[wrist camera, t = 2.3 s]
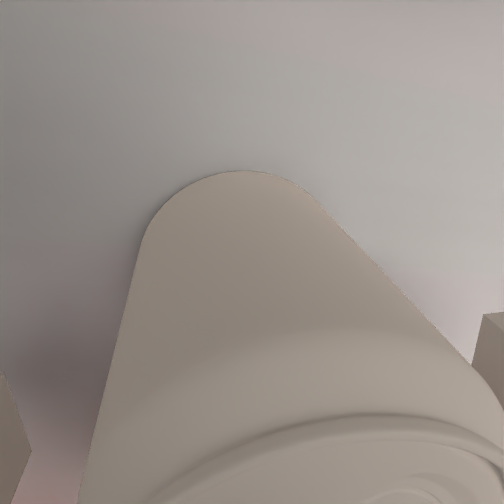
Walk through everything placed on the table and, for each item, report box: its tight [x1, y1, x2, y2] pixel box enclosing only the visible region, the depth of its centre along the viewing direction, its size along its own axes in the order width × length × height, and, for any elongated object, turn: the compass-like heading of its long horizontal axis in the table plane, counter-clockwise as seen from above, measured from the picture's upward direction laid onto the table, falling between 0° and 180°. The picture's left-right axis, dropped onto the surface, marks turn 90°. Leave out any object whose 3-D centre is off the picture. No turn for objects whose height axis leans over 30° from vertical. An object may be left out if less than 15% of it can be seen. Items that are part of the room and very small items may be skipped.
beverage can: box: [77, 171, 504, 504], centre depth 12 cm, size 8×8×12 cm
